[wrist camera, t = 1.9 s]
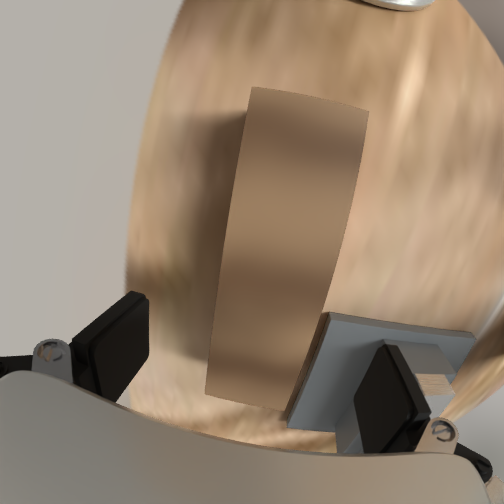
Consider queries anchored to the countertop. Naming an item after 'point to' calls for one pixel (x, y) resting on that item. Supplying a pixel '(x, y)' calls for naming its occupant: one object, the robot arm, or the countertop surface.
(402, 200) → the countertop surface
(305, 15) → the countertop surface
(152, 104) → the countertop surface
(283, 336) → the walnut beam
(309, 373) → the fulcrum stand
